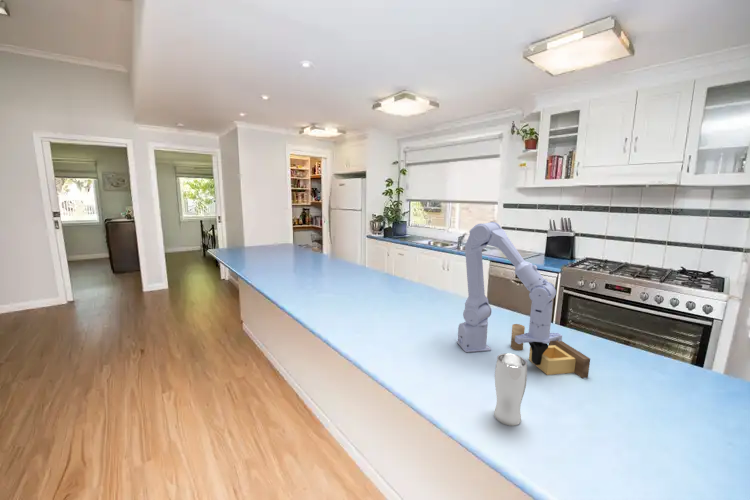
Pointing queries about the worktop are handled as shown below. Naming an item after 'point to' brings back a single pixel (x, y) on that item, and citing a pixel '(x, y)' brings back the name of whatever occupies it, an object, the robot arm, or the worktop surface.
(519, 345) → the dowel
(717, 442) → the worktop surface
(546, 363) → the socket block
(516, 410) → the beer glass
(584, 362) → the walnut wall
